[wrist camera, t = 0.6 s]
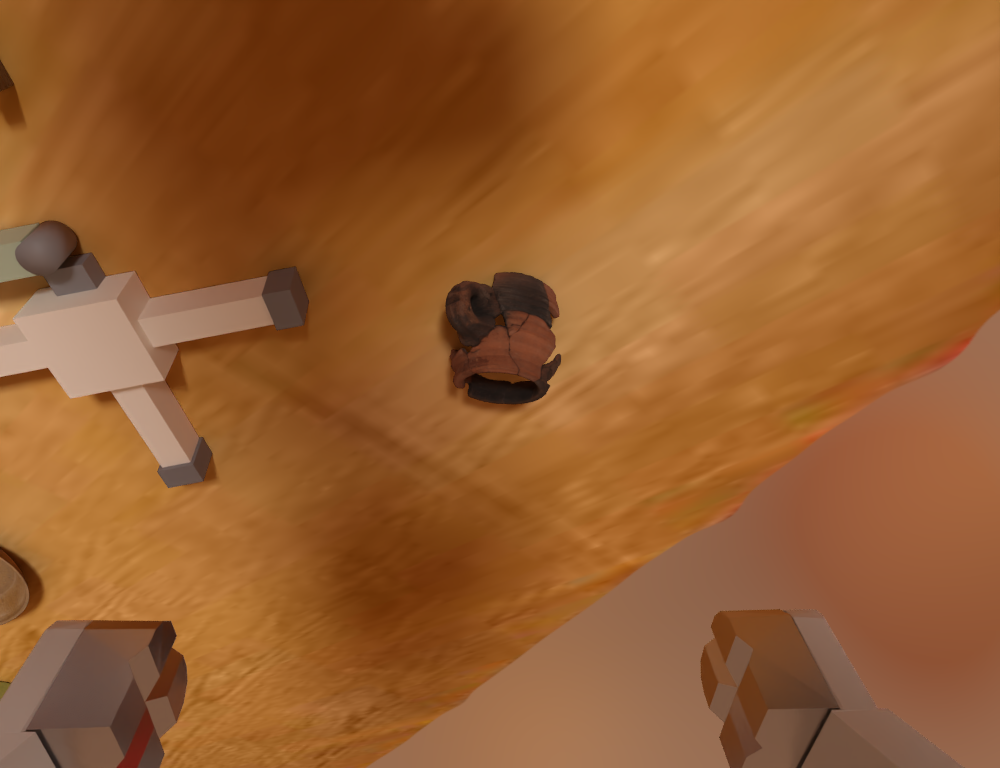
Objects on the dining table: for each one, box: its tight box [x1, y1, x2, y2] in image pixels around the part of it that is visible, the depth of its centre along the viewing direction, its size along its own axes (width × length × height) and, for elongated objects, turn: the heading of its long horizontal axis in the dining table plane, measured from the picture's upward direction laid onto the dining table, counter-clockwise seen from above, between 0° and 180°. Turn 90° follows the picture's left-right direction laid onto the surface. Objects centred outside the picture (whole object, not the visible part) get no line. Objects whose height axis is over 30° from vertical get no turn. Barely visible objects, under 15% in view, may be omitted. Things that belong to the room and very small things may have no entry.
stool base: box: [0, 253, 309, 488], centre depth 50 cm, size 20×29×4 cm
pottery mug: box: [446, 272, 561, 404], centre depth 51 cm, size 12×10×8 cm
